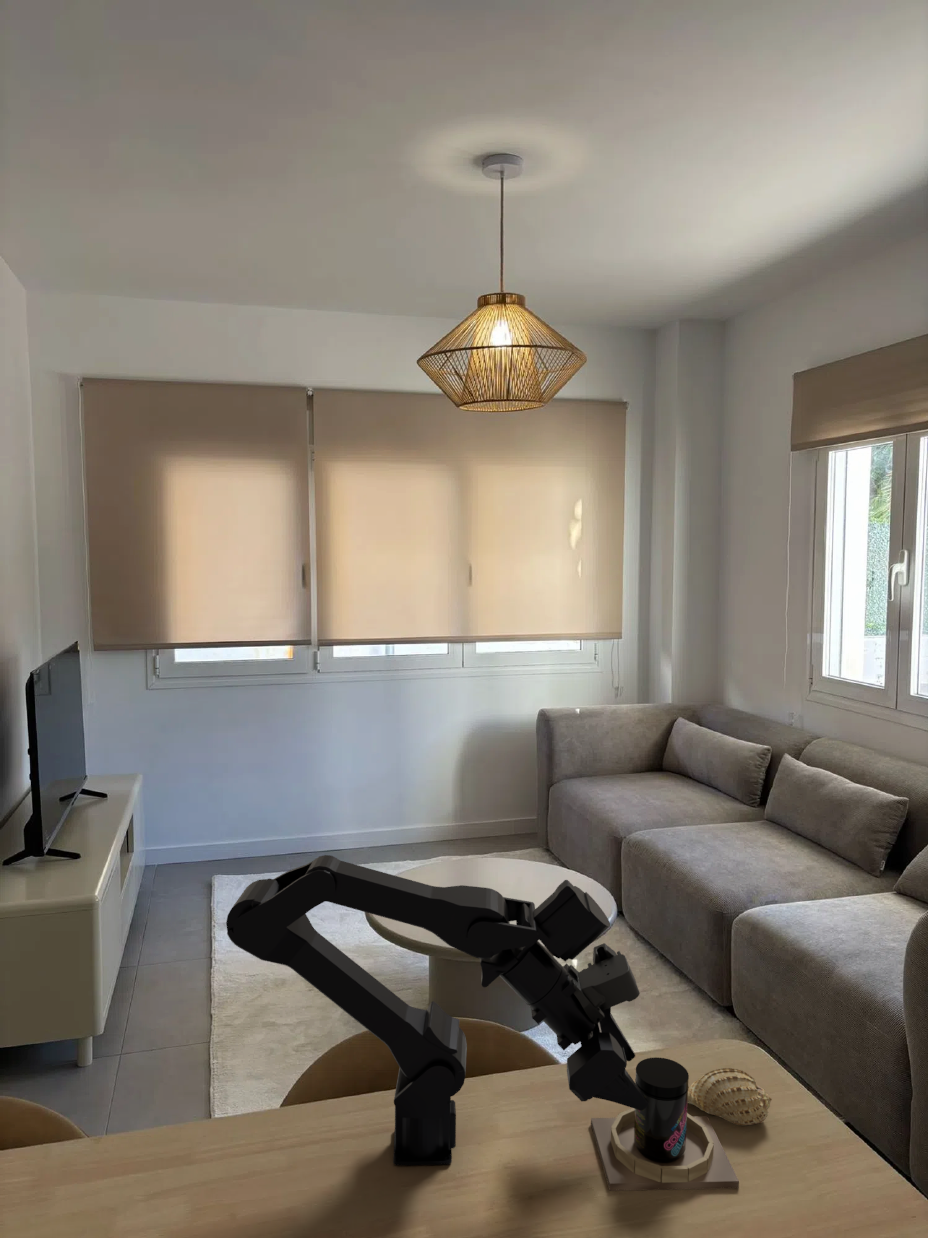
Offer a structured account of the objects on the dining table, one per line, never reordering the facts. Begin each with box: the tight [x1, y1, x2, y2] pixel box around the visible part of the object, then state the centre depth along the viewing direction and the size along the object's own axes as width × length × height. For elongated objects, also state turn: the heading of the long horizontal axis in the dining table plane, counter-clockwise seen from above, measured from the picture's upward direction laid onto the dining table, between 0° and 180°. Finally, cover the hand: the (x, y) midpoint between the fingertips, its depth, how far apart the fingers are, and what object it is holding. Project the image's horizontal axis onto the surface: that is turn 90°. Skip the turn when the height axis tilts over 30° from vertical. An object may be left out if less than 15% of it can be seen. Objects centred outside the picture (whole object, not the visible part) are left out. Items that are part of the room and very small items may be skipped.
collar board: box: [590, 1107, 740, 1192], centre depth 103 cm, size 14×11×2 cm
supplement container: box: [634, 1056, 690, 1163], centre depth 102 cm, size 6×6×9 cm
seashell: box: [687, 1067, 773, 1126], centre depth 111 cm, size 8×6×10 cm
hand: (638, 1081), depth 102 cm, fingers open, 9 cm apart
